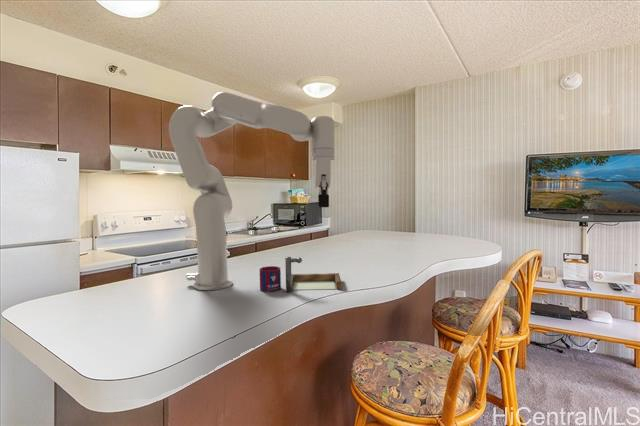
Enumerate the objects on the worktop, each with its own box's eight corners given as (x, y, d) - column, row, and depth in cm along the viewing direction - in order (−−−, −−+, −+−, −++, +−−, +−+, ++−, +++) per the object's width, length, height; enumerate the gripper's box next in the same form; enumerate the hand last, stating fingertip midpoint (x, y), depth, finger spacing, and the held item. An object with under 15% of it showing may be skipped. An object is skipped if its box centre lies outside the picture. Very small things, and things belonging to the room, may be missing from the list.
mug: (263, 293, 101) (263, 271, 100) (254, 285, 110) (254, 265, 109) (283, 290, 104) (283, 269, 103) (273, 282, 113) (273, 263, 112)
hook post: (285, 292, 101) (285, 257, 100) (286, 291, 103) (285, 256, 102) (302, 292, 101) (301, 257, 100) (302, 290, 103) (302, 256, 102)
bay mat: (292, 290, 103) (292, 289, 103) (294, 282, 112) (294, 281, 112) (335, 289, 104) (335, 288, 104) (334, 281, 113) (334, 281, 113)
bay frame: (286, 290, 103) (286, 282, 103) (289, 281, 114) (289, 274, 114) (341, 289, 103) (341, 281, 103) (338, 280, 114) (338, 273, 114)
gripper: (311, 158, 116) (312, 205, 117) (311, 151, 98) (312, 207, 99) (332, 157, 116) (333, 205, 117) (336, 151, 99) (336, 207, 100)
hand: (323, 206), depth 108 cm, fingers open, 9 cm apart
